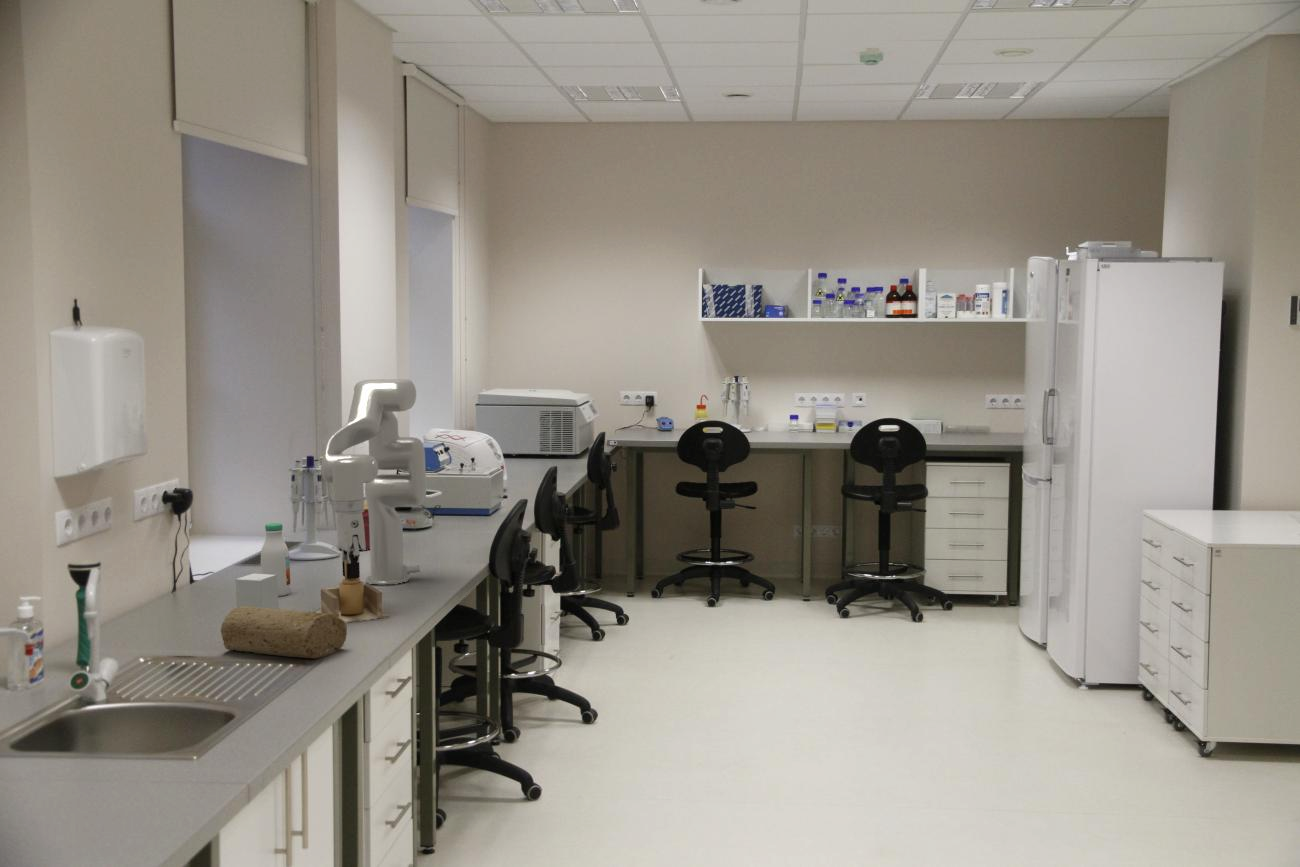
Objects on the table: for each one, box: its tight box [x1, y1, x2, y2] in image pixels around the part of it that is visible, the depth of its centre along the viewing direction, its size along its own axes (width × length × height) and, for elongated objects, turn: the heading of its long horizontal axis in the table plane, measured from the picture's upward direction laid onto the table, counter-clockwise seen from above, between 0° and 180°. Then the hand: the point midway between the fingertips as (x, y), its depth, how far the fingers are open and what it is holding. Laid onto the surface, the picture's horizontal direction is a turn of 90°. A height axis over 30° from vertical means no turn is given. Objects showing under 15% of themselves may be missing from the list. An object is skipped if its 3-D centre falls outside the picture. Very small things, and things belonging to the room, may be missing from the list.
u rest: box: [315, 583, 389, 624], centre depth 306 cm, size 15×14×7 cm
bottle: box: [338, 554, 364, 614], centre depth 305 cm, size 6×6×15 cm
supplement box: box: [235, 573, 279, 609], centre depth 296 cm, size 7×7×13 cm
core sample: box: [220, 606, 348, 660], centre depth 272 cm, size 14×26×10 cm, turn 69°
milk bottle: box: [260, 522, 292, 597], centre depth 332 cm, size 8×8×20 cm
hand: (351, 576), depth 305 cm, fingers closed on bottle, 3 cm apart
